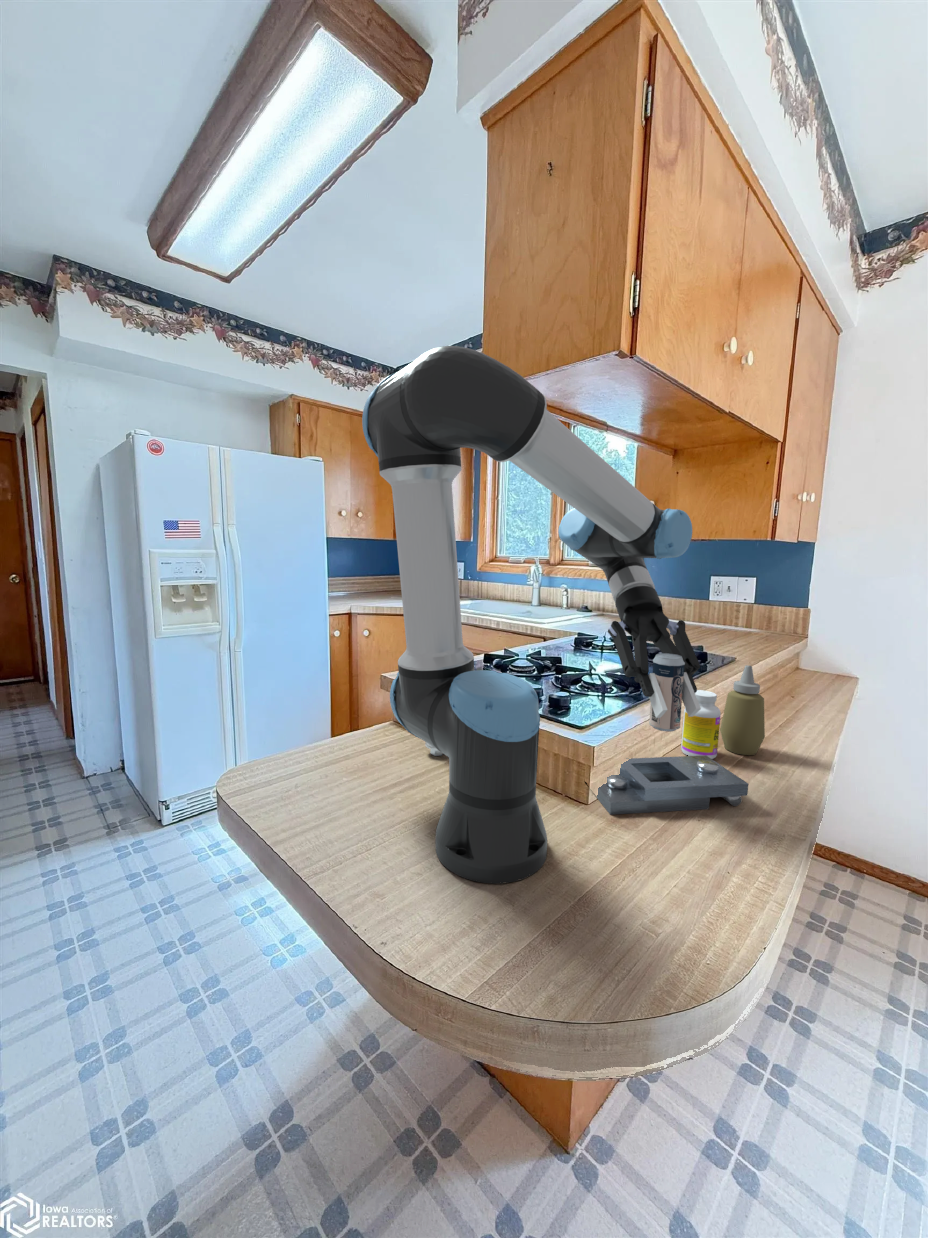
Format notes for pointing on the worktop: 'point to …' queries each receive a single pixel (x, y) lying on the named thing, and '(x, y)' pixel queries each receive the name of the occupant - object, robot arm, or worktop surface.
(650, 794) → the right chain end
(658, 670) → the beer can
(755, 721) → the squeeze bottle
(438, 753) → the screw
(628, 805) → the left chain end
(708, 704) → the supplement bottle
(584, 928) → the worktop surface
